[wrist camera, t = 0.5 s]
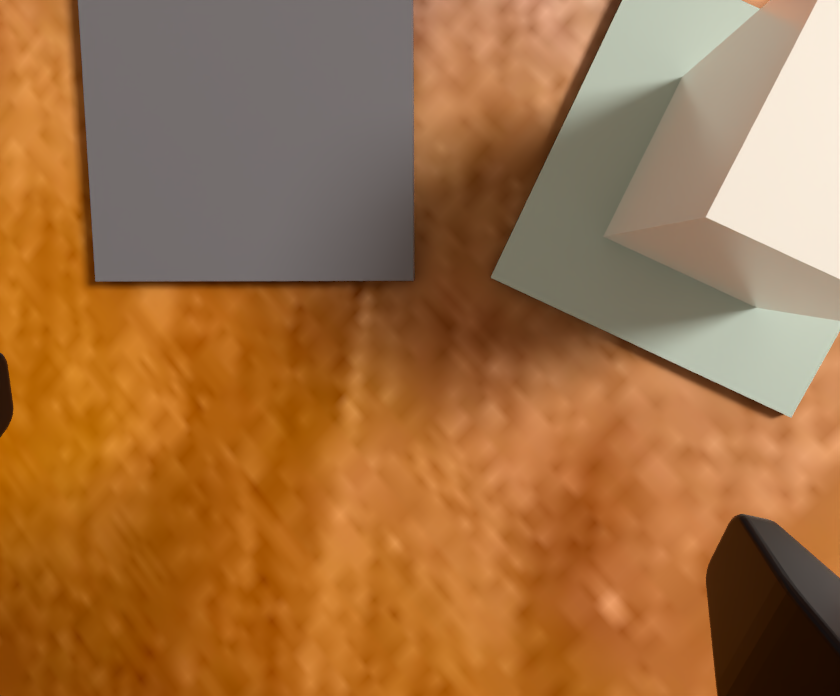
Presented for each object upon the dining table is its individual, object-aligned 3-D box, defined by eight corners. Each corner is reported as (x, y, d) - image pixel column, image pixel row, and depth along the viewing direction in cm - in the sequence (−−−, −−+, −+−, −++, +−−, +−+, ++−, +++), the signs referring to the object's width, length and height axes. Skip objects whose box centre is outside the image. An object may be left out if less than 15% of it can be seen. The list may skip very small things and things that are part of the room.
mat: (414, 280, 21) (413, 281, 21) (105, 281, 22) (95, 281, 22) (412, -98, 20) (410, -109, 20) (83, -85, 21) (72, -94, 20)
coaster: (785, 414, 21) (855, 448, 17) (490, 277, 21) (494, 280, 17) (956, 106, 20) (1075, 69, 16) (639, -39, 20) (681, -111, 16)
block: (755, 307, 20) (977, 342, 12) (603, 236, 20) (706, 217, 12) (840, 149, 20) (1146, 57, 11) (682, 76, 20) (855, -75, 11)
